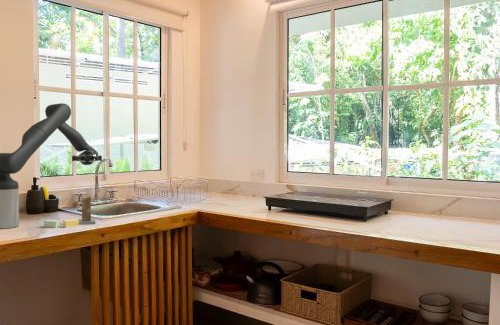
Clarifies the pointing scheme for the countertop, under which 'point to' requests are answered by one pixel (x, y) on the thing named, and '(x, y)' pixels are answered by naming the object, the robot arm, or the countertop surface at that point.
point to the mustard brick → (70, 223)
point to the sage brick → (52, 223)
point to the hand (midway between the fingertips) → (86, 158)
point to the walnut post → (86, 208)
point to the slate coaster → (86, 222)
